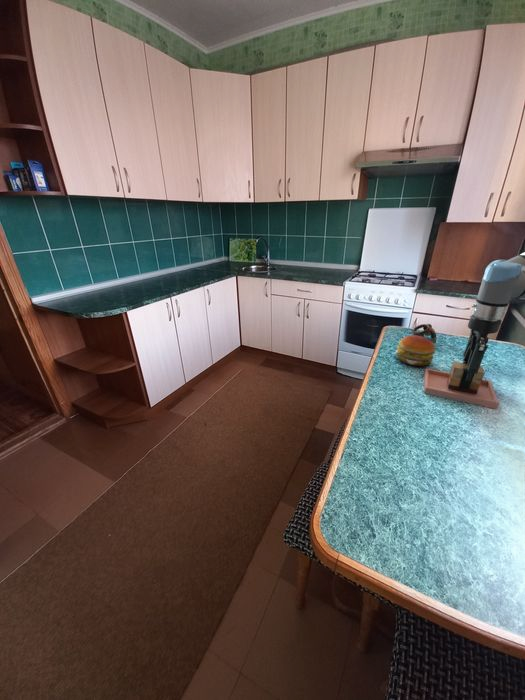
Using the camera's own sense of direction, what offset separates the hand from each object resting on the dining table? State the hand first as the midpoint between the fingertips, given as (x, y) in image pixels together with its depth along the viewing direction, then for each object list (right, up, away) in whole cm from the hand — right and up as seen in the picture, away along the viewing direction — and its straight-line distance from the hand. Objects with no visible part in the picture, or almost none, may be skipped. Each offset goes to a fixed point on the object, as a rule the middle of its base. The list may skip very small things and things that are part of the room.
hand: (462, 383), depth 96 cm
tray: (-1, -2, +2) cm, 3 cm away
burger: (-6, +7, +20) cm, 22 cm away
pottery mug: (+8, +16, +38) cm, 42 cm away
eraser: (0, -1, +1) cm, 2 cm away
